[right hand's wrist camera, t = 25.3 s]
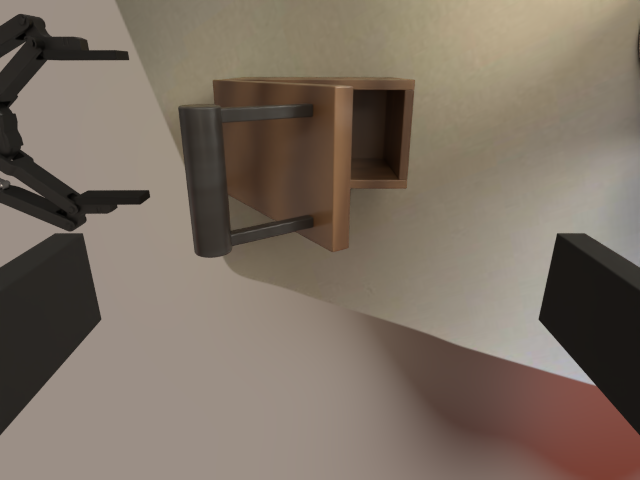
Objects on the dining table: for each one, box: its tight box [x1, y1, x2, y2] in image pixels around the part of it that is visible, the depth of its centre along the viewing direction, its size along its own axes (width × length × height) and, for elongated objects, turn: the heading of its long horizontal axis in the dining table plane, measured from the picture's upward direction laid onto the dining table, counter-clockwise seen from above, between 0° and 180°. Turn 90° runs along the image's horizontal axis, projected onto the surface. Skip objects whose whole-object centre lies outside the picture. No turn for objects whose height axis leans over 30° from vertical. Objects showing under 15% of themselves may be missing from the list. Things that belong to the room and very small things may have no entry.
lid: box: [178, 80, 353, 258], centre depth 29 cm, size 17×9×9 cm
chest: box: [223, 77, 415, 188], centre depth 43 cm, size 16×9×11 cm, turn 90°
